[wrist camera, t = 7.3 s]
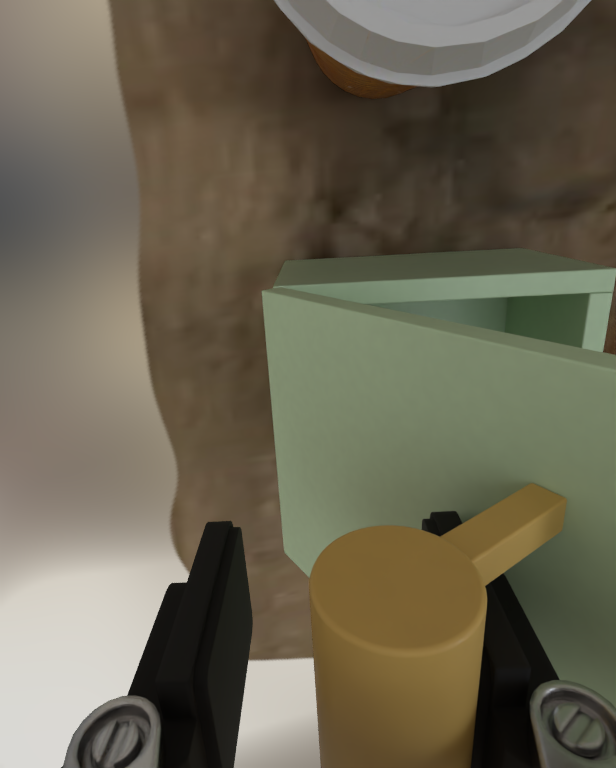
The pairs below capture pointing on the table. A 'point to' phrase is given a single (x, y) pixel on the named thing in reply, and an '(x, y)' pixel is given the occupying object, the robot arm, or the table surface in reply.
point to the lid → (435, 494)
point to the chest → (473, 290)
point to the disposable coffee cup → (422, 38)
